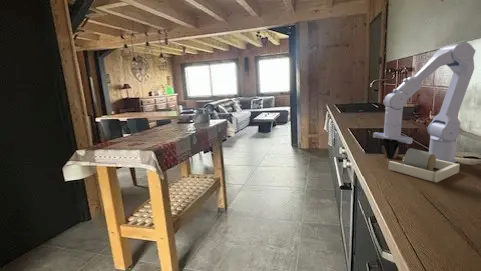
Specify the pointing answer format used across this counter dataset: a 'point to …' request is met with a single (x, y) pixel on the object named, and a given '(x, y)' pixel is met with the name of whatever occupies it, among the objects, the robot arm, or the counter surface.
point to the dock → (437, 176)
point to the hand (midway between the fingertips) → (390, 157)
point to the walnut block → (394, 154)
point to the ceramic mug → (420, 159)
